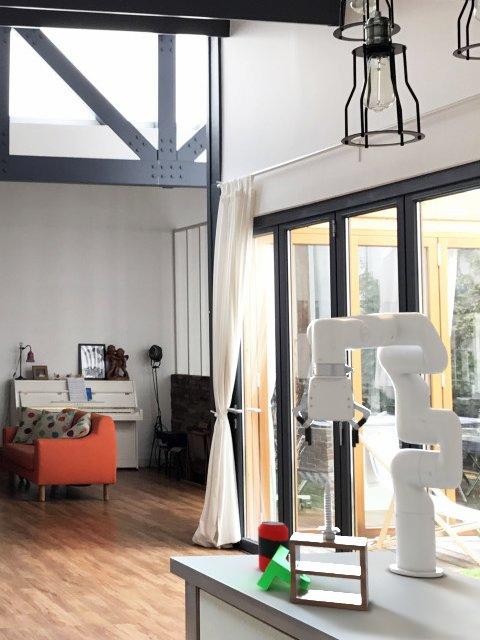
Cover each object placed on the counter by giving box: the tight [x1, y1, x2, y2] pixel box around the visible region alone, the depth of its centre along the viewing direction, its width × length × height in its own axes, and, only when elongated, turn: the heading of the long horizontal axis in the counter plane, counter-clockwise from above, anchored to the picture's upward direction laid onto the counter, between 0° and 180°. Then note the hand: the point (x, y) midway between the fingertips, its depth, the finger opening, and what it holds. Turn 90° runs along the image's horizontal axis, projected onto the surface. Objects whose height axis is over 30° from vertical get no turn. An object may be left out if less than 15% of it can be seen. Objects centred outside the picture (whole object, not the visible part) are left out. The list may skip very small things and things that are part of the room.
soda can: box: [257, 520, 290, 573], centre depth 264 cm, size 8×8×12 cm
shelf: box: [289, 532, 370, 612], centre depth 230 cm, size 10×16×14 cm, turn 66°
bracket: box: [256, 545, 312, 591], centre depth 248 cm, size 20×10×7 cm
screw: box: [316, 480, 341, 540], centre depth 232 cm, size 13×5×5 cm
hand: (332, 446), depth 234 cm, fingers open, 9 cm apart
